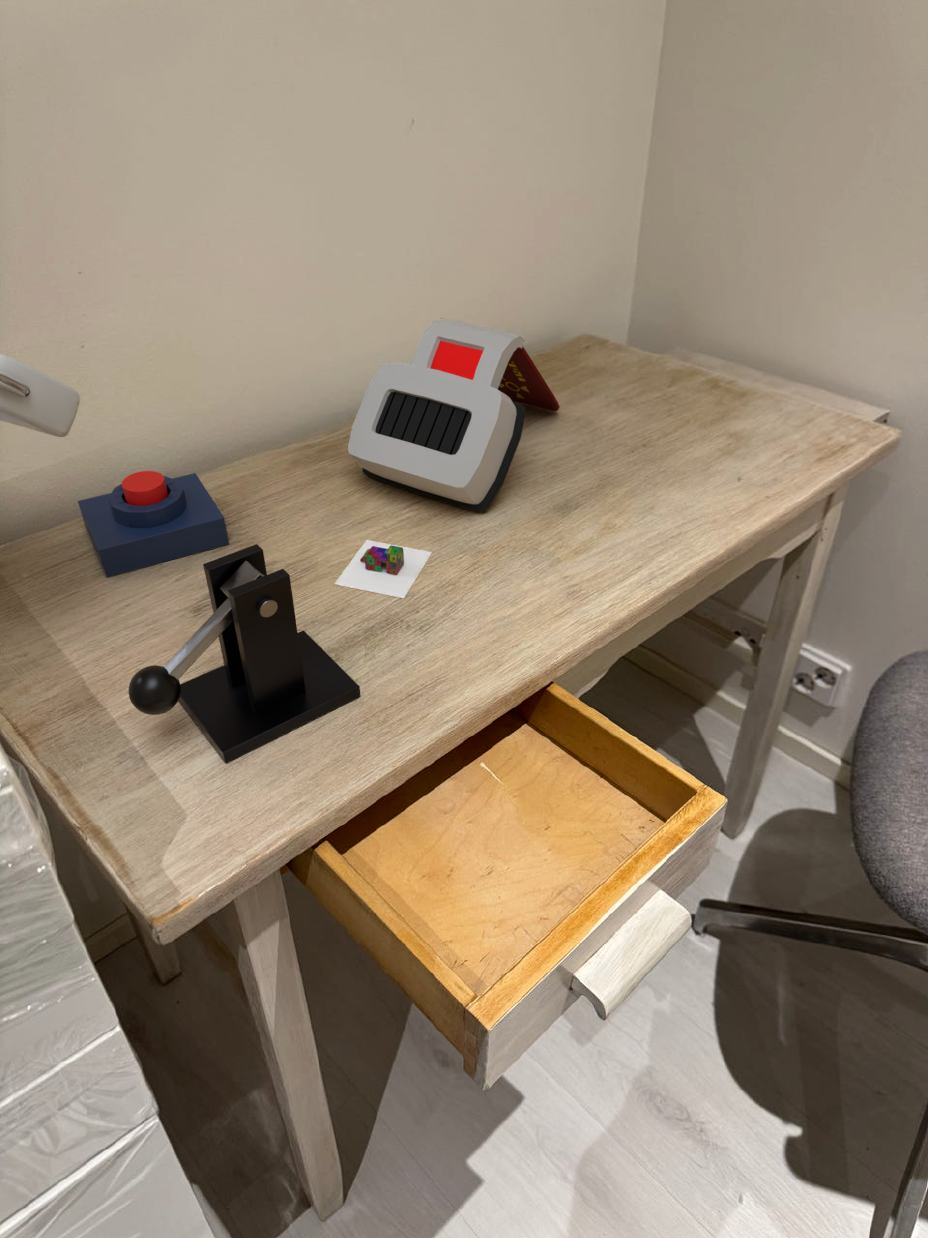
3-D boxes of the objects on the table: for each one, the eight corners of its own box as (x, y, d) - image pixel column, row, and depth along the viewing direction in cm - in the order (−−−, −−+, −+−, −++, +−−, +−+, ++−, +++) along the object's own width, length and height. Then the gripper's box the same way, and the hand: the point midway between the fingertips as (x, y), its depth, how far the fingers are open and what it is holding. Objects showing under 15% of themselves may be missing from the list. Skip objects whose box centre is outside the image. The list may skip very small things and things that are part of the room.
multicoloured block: (407, 558, 88) (406, 538, 86) (396, 574, 86) (396, 554, 84) (367, 551, 89) (366, 531, 87) (356, 566, 87) (354, 546, 85)
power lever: (164, 731, 65) (129, 713, 62) (145, 704, 67) (110, 685, 64) (288, 598, 66) (259, 574, 63) (265, 575, 68) (236, 551, 65)
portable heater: (396, 287, 95) (540, 318, 89) (475, 384, 118) (594, 414, 112) (329, 456, 95) (469, 500, 88) (422, 520, 118) (538, 558, 111)
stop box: (106, 577, 85) (93, 533, 82) (85, 527, 92) (72, 485, 89) (229, 544, 90) (221, 501, 86) (200, 498, 96) (192, 457, 93)
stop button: (131, 510, 86) (126, 495, 85) (121, 492, 88) (117, 476, 87) (172, 500, 87) (169, 485, 86) (162, 482, 90) (158, 467, 89)
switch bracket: (225, 764, 67) (195, 632, 59) (175, 697, 72) (141, 569, 64) (360, 696, 73) (349, 568, 65) (305, 640, 78) (288, 515, 70)
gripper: (-1, 320, 56) (142, 403, 69) (-211, 270, 63) (-45, 354, 76) (-36, 415, 55) (114, 480, 68) (-243, 354, 62) (-71, 424, 75)
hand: (29, 413), depth 72 cm, fingers closed
